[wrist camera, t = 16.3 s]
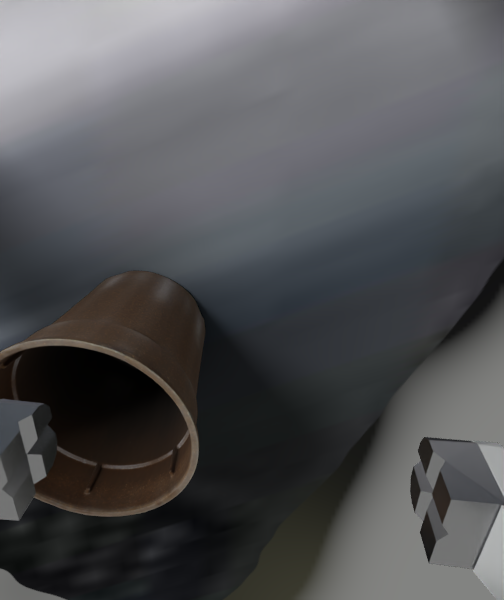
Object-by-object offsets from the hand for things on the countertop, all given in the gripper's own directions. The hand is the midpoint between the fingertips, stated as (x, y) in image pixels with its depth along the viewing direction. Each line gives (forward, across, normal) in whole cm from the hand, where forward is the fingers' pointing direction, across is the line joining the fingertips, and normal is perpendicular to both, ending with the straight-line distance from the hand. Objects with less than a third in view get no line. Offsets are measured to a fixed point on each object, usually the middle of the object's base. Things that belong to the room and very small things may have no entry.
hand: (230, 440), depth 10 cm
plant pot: (+31, +12, +16) cm, 37 cm away
